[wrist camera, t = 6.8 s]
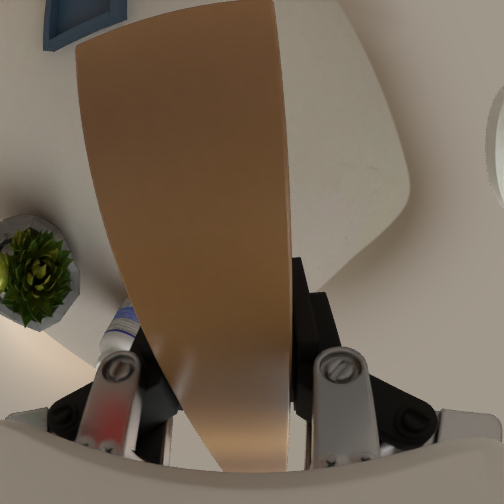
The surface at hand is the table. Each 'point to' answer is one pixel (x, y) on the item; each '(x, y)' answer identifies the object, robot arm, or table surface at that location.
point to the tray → (78, 19)
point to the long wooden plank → (201, 212)
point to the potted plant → (35, 272)
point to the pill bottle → (120, 331)
